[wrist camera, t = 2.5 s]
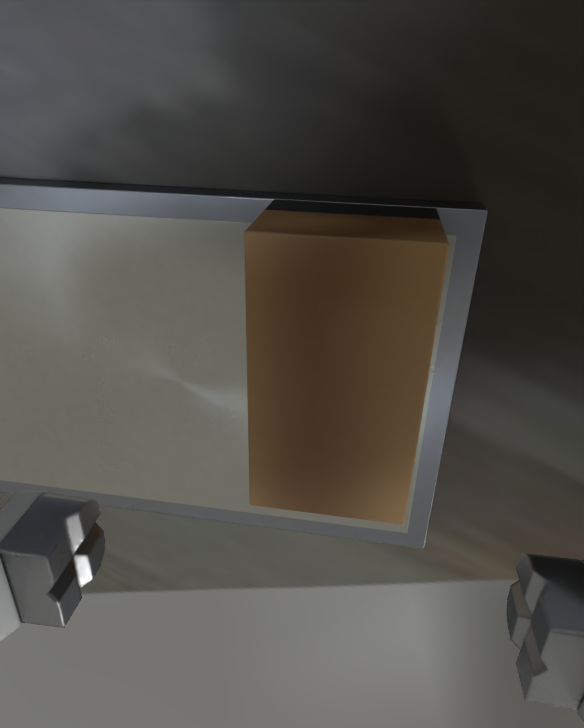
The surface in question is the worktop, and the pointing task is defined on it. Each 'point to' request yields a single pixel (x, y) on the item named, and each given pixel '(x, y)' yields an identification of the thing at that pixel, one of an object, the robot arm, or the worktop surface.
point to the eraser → (339, 353)
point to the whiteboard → (169, 350)
